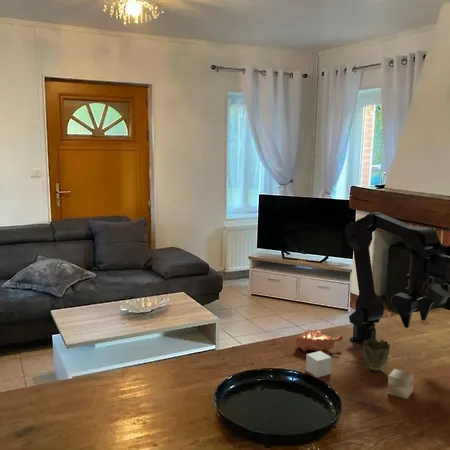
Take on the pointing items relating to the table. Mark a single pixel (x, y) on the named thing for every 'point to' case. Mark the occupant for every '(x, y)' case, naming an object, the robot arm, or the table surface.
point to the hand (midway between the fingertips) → (415, 323)
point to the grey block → (318, 364)
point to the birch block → (400, 383)
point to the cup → (375, 353)
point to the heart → (315, 341)
